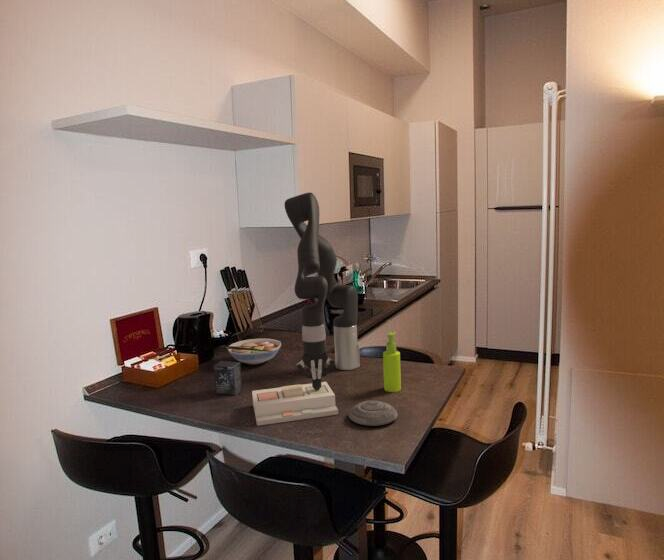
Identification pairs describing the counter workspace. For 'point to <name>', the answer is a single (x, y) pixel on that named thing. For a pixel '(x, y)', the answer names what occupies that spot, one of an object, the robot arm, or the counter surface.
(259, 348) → the ramen bowl
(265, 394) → the coral key
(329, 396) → the keypad
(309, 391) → the sage key
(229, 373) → the box
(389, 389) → the soap dispenser
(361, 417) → the flying saucer
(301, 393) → the sand key
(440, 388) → the counter surface
